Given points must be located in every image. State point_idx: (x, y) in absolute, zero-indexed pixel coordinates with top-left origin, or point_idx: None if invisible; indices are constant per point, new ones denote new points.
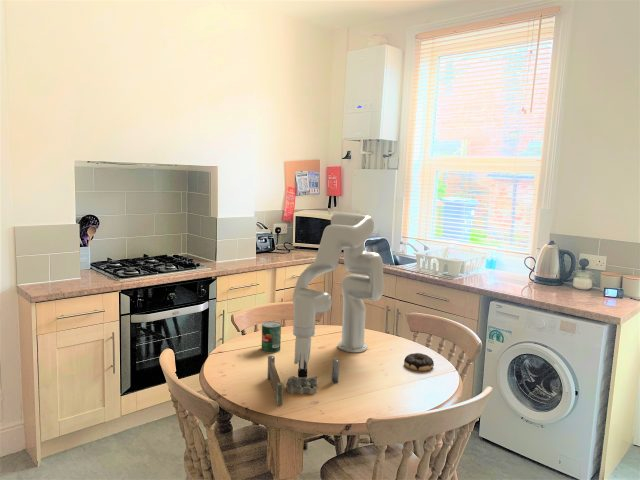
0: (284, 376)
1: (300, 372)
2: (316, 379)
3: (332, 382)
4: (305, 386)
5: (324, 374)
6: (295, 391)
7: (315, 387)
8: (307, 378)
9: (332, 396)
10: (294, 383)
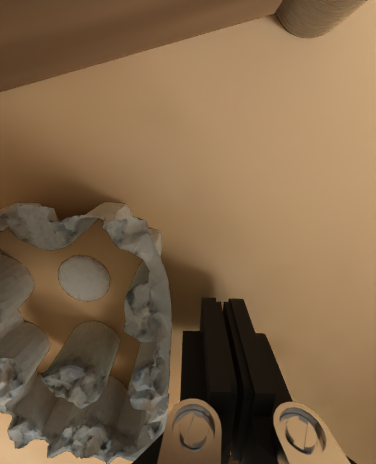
0: (356, 157)
1: (181, 392)
2: (126, 458)
3: None
4: (11, 376)
5: (348, 427)
6: (26, 274)
7: (21, 432)
8: (149, 399)
9: (39, 454)
10: (141, 269)
